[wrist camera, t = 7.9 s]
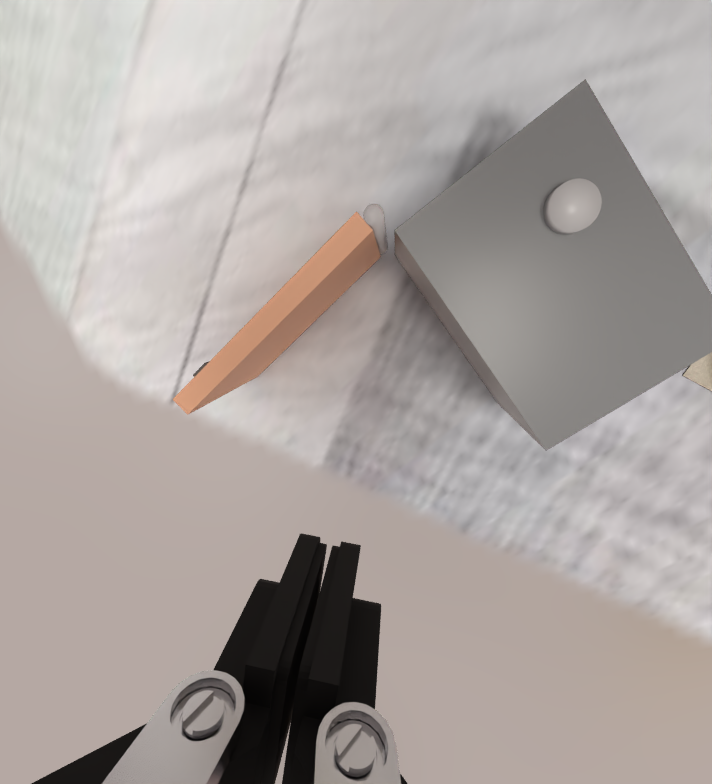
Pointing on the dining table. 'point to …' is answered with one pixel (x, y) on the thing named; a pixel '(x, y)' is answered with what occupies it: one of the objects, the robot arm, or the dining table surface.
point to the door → (291, 309)
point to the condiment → (701, 372)
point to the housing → (559, 273)
